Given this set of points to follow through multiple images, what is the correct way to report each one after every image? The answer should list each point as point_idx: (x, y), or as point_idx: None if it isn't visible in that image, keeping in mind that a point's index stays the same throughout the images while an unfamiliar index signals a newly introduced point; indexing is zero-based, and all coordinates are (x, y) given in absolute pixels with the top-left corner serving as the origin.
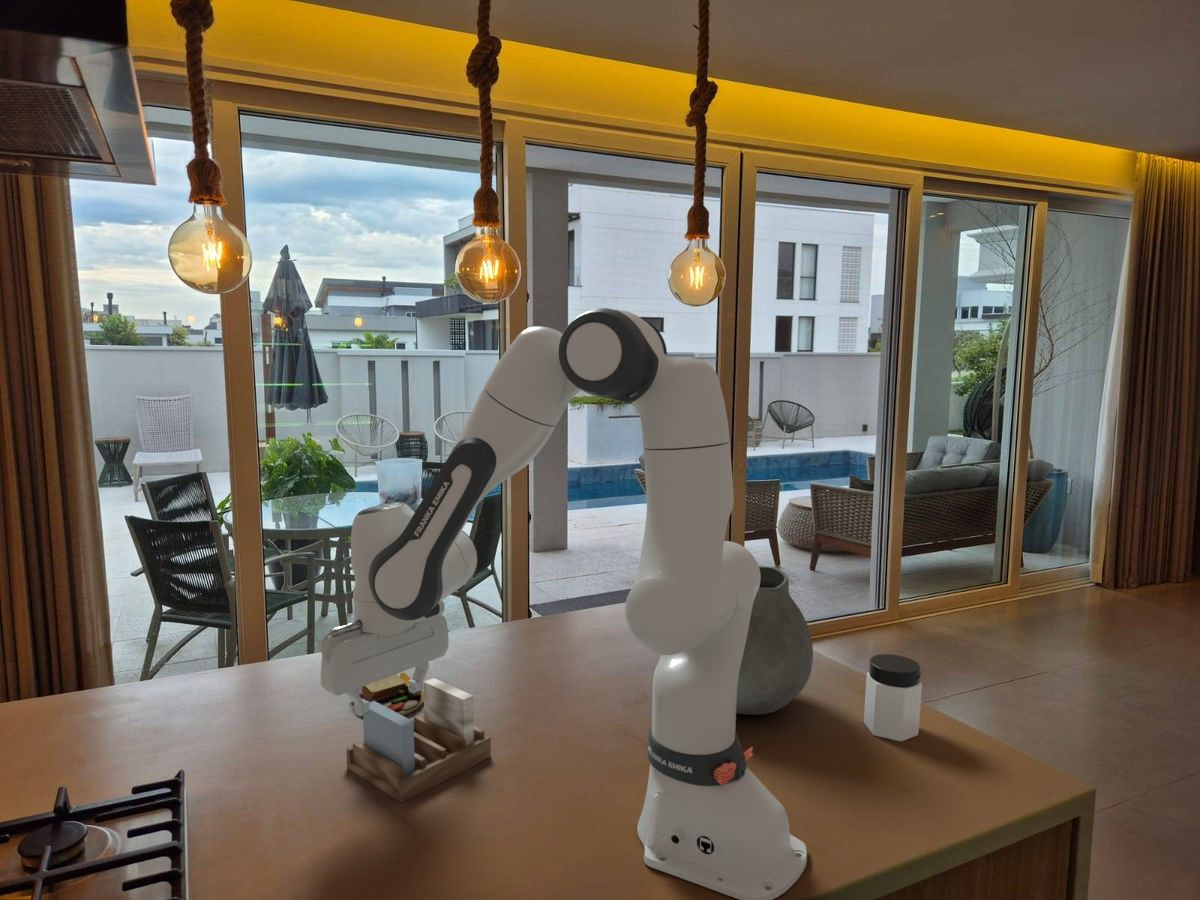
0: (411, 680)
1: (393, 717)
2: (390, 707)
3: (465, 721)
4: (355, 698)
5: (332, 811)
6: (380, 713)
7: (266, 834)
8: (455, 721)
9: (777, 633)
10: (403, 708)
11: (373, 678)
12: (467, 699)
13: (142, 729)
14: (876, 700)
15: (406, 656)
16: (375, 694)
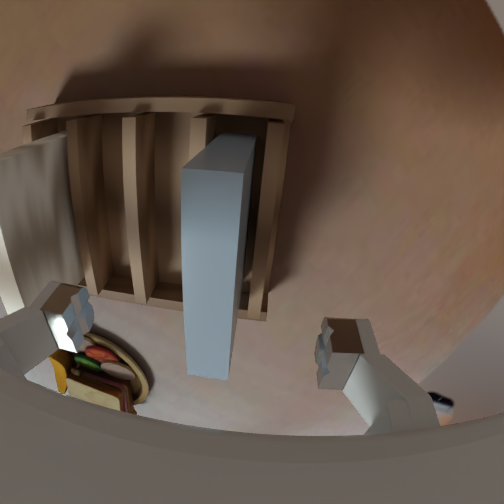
0: (65, 342)
1: (214, 259)
2: (106, 359)
3: (32, 147)
4: (420, 387)
5: (389, 204)
6: (226, 315)
7: (471, 244)
8: (45, 179)
9: None
10: (91, 342)
11: (354, 462)
12: None
13: None
14: None
15: (24, 472)
16: (115, 392)
